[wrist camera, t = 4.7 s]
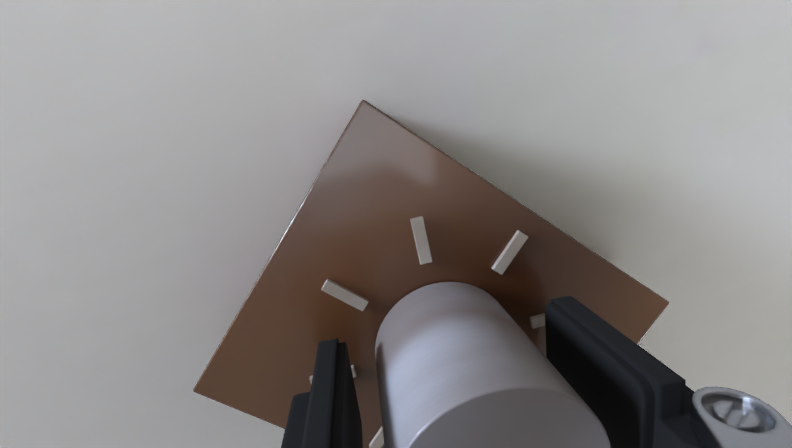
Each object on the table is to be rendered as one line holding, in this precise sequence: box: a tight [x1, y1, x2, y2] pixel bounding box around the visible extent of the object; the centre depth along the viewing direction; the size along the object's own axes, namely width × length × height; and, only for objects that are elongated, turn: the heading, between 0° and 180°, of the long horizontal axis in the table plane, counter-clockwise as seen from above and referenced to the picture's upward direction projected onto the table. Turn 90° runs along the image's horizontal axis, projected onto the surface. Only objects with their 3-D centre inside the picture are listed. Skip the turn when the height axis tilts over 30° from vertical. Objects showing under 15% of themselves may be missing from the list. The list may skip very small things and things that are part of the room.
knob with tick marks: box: [193, 100, 669, 448], centre depth 13 cm, size 12×10×3 cm
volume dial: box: [375, 282, 611, 448], centre depth 9 cm, size 4×4×5 cm
